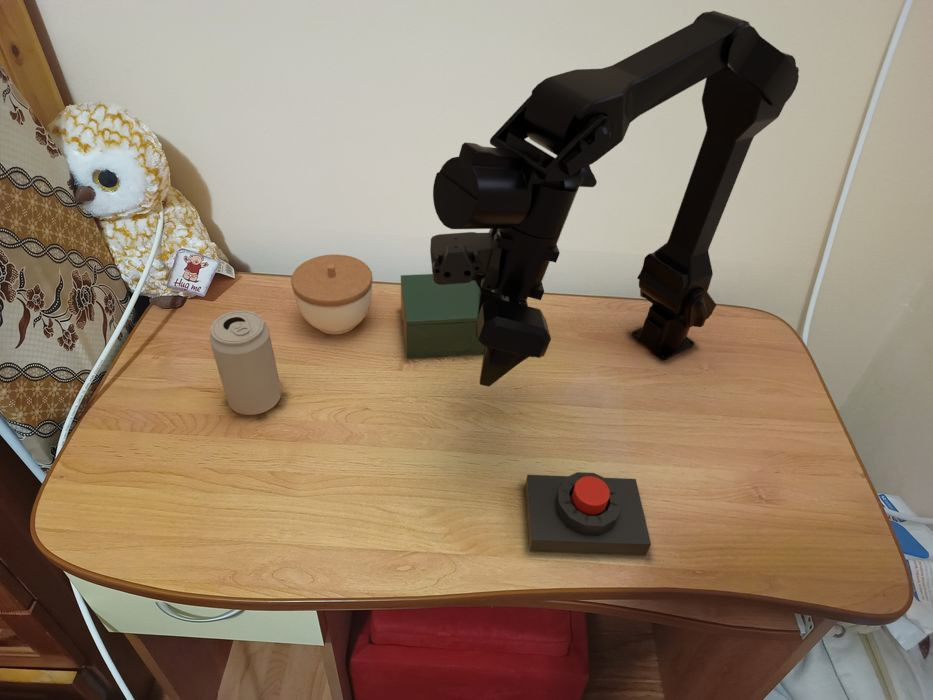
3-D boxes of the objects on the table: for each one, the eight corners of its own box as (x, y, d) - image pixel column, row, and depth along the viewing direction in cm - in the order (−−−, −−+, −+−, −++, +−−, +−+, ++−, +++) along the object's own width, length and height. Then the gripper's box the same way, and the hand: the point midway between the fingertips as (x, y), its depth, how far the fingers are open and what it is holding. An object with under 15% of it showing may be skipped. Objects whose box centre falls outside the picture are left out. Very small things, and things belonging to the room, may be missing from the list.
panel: (631, 490, 70) (639, 468, 67) (645, 555, 64) (655, 534, 62) (524, 486, 70) (529, 464, 67) (529, 551, 64) (534, 530, 61)
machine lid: (494, 275, 89) (497, 248, 86) (508, 320, 82) (512, 292, 79) (400, 279, 87) (400, 252, 84) (406, 325, 80) (405, 297, 77)
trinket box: (307, 295, 93) (299, 241, 87) (379, 299, 93) (376, 246, 87) (290, 343, 85) (280, 287, 79) (369, 348, 85) (365, 293, 79)
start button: (603, 486, 66) (607, 476, 65) (609, 516, 63) (612, 506, 62) (569, 485, 66) (572, 475, 65) (573, 514, 63) (576, 504, 62)
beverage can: (264, 373, 81) (247, 300, 72) (292, 401, 77) (278, 327, 69) (218, 397, 77) (195, 323, 69) (246, 427, 74) (225, 353, 66)
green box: (486, 307, 93) (489, 275, 89) (498, 353, 86) (502, 320, 82) (401, 311, 91) (400, 279, 88) (406, 358, 84) (406, 325, 80)
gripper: (447, 170, 65) (412, 299, 73) (447, 244, 49) (402, 397, 57) (548, 199, 67) (502, 320, 75) (579, 278, 51) (518, 421, 59)
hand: (482, 359), depth 66 cm, fingers open, 9 cm apart
